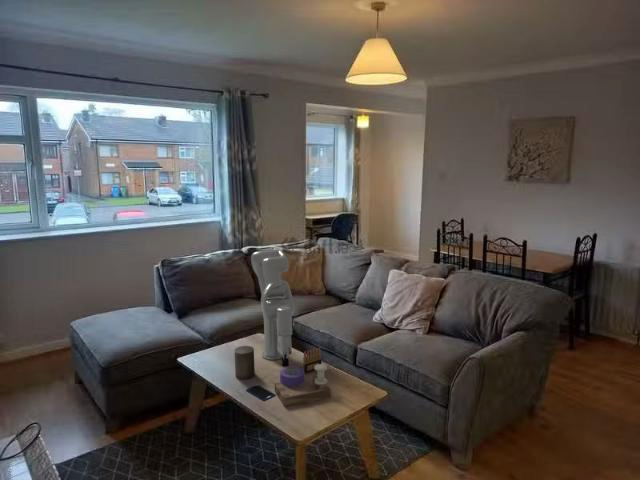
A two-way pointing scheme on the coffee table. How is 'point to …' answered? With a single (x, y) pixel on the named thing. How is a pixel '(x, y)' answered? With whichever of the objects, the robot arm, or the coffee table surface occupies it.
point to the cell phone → (260, 392)
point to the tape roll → (292, 376)
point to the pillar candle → (244, 362)
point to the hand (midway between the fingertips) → (285, 366)
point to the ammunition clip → (311, 360)
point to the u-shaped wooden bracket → (302, 394)
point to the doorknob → (320, 374)
